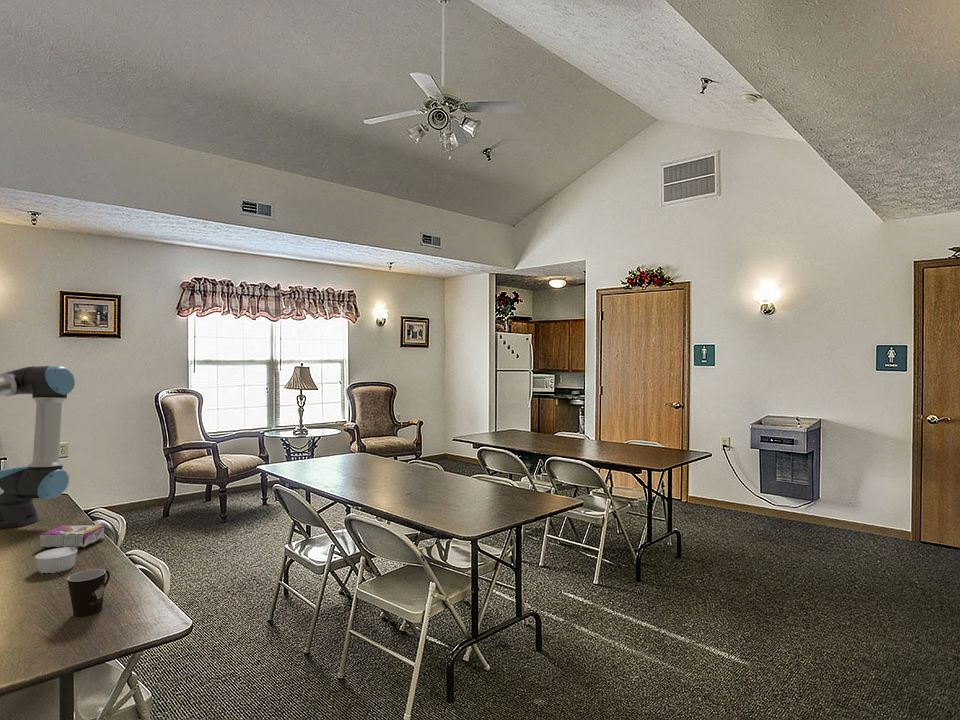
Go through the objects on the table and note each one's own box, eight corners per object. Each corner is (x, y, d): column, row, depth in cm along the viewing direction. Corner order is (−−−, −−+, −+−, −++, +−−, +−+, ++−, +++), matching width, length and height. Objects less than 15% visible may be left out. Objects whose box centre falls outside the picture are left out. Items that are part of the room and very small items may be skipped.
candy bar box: (62, 524, 220) (105, 524, 220) (62, 537, 220) (105, 537, 220) (38, 533, 209) (83, 533, 209) (39, 547, 209) (84, 548, 209)
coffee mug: (78, 622, 152) (76, 583, 152) (62, 614, 157) (61, 577, 157) (124, 604, 162) (123, 569, 162) (108, 598, 167) (107, 563, 167)
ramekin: (81, 568, 191) (81, 552, 191) (39, 578, 183) (38, 561, 183) (73, 560, 199) (72, 544, 198) (32, 569, 190) (31, 553, 190)
